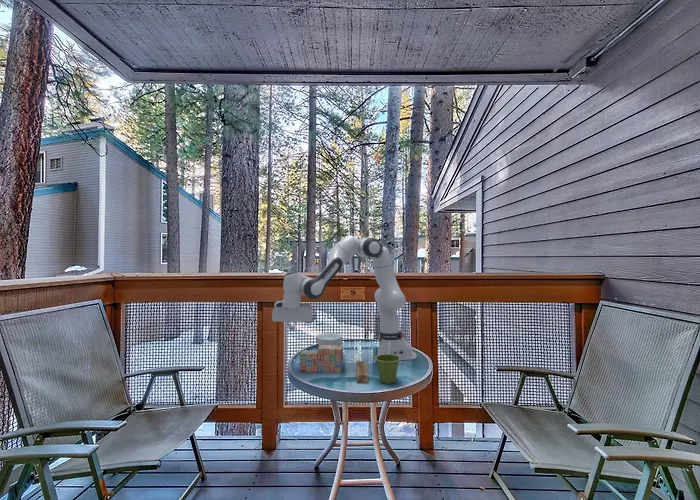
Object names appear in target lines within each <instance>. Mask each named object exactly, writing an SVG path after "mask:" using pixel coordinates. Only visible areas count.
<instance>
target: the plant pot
mask: <svg viewBox="0 0 700 500" xmlns="http://www.w3.org/2000/svg"><path fill="white" fill-rule="evenodd" d="M374 358H375V361H376V364H377V369H378V374H379V379H380V382H381V383H382V384H384V383H385V385H391V384H395V383H396V382H397V373H398V368H399V367H398V366H399V364H400V361H401V360H400V357H399V356H397V355H392V354H382V355H378V356H377V355H376V356H375V357H374Z"/></svg>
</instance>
